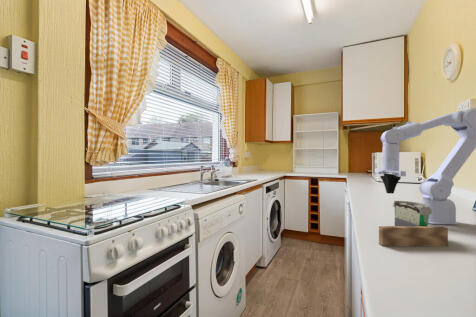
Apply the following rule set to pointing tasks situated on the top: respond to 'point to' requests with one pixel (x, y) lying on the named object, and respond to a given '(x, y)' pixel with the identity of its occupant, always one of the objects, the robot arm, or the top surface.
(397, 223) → the bookend
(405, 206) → the food container
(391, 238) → the shelf panel
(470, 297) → the top surface
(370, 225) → the top surface
